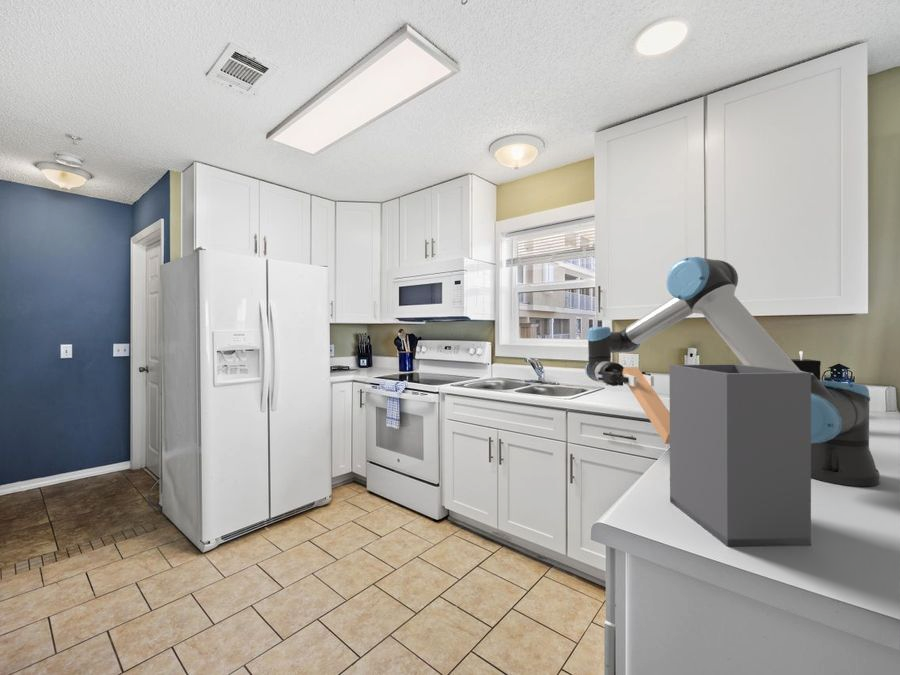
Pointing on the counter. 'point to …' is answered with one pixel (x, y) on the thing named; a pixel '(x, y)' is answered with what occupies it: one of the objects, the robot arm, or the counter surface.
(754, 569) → the counter surface
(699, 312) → the robot arm
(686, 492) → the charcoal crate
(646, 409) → the slat
